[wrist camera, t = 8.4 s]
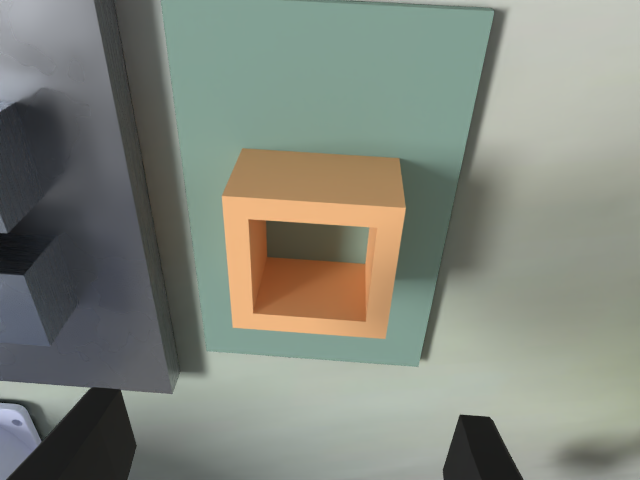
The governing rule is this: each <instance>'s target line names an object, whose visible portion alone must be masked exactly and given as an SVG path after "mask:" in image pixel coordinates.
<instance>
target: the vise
mask: <svg viewBox="0 0 640 480" xmlns="http://www.w3.org/2000/svg"><path fill="white" fill-rule="evenodd" d="M179 374H180V369H179V363H178V358H177V352H176V347H175V341H174V336H173V330H172V324H171V319H170V313H169V308H168V302H167V297H166V291H165V285H164V280H163V274H162V269H161V263H160V258H159V252H158V246H157V241H156V235H155V230H154V224H153V218H152V213H151V207H150V202H149V196H148V191H147V185H146V179H145V174H144V168H143V163H142V157H141V152H140V146H139V140H138V135H137V129H136V124H135V118H134V113H133V107H132V101H131V96H130V90H129V85H128V79H127V73H126V68H125V62H124V57H123V51H122V46H121V40H120V34H119V29H118V23H117V18H116V12H115V7H114V1H113V0H0V381H12V382H25V383H38V384H51V385H64V386H77V387H90V388H92V387H98V388H112V389H121V390H128V391H141V392H154V393H167V394H172V393H173V391H174V388H175V385H176V382H177V380H178V377H179Z"/></svg>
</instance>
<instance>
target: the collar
mask: <svg viewBox="0 0 640 480" xmlns="http://www.w3.org/2000/svg"><path fill="white" fill-rule="evenodd" d="M222 206H223V218H224V229H225V241H226V253H227V265H228V277H229V289H230V301H231V313H232V325H233V328H243V329H257V330H270V331H284V332H297V333H311V334H324V335H338V336H351V337H365V338H379V339H386V333H387V326H388V320H389V313H390V307H391V300H392V294H393V288H394V281H395V275H396V268H397V262H398V255H399V249H400V242H401V236H402V229H403V223H404V217H405V210H406V206H405V198H404V190H403V183H402V175H401V167H400V160H399V158H390V157H374V156H358V155H341V154H325V153H309V152H293V151H277V150H261V149H245V148H242V150H241V152H240V155H239V157H238V159H237V162H236V164H235V166H234V169H233V171H232V173H231V176H230V178H229V180H228V183H227V185H226V187H225V189H224V192H223V194H222ZM266 220H268V221H283V222H298V223H313V224H328V225H343V226H358V227H369V235H368V244H367V253H366V262H365V264H360V263H346V262H331V261H317V260H302V259H288V258H273V257H267V236H266Z"/></svg>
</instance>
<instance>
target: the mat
mask: <svg viewBox="0 0 640 480" xmlns="http://www.w3.org/2000/svg"><path fill="white" fill-rule="evenodd" d="M161 6H162V14H163V22H164V29H165V37H166V44H167V52H168V60H169V67H170V75H171V83H172V90H173V98H174V106H175V113H176V121H177V129H178V136H179V144H180V152H181V159H182V167H183V175H184V182H185V190H186V197H187V205H188V213H189V220H190V228H191V236H192V243H193V251H194V259H195V266H196V274H197V282H198V289H199V297H200V305H201V312H202V320H203V328H204V335H205V343H206V350H207V351H213V352H226V353H239V354H253V355H266V356H280V357H293V358H307V359H320V360H333V361H347V362H360V363H374V364H387V365H401V366H414V367H418V366H419V361H420V357H421V352H422V347H423V343H424V338H425V333H426V329H427V324H428V319H429V315H430V310H431V305H432V301H433V296H434V291H435V287H436V282H437V277H438V273H439V268H440V263H441V259H442V254H443V249H444V245H445V240H446V235H447V231H448V226H449V221H450V217H451V212H452V207H453V203H454V198H455V193H456V189H457V184H458V179H459V175H460V170H461V165H462V161H463V156H464V151H465V146H466V142H467V137H468V132H469V128H470V123H471V118H472V114H473V109H474V104H475V100H476V95H477V90H478V86H479V81H480V76H481V72H482V67H483V62H484V58H485V53H486V48H487V44H488V39H489V34H490V30H491V25H492V20H493V16H494V10H493V9H492V8H480V7H461V6H442V5H422V4H403V3H383V2H364V1H345V0H161ZM242 148H245V149H261V150H277V151H293V152H309V153H325V154H341V155H358V156H374V157H390V158H399V160H400V167H401V175H402V183H403V190H404V198H405V206H406V210H405V217H404V223H403V229H402V236H401V242H400V249H399V255H398V262H397V268H396V275H395V281H394V288H393V294H392V300H391V307H390V313H389V320H388V326H387V333H386V339H379V338H365V337H351V336H338V335H324V334H311V333H297V332H284V331H270V330H257V329H243V328H233V325H232V313H231V301H230V289H229V277H228V265H227V253H226V241H225V229H224V218H223V206H222V194H223V192H224V189H225V187H226V185H227V183H228V180H229V178H230V176H231V173H232V171H233V169H234V166H235V164H236V162H237V159H238V157H239V155H240V152H241V150H242ZM368 235H369V227H358V226H343V225H328V224H313V223H298V222H283V221H268V220H266V236H267V257H273V258H288V259H302V260H317V261H331V262H346V263H360V264H365V262H366V253H367V244H368Z"/></svg>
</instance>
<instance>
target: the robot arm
mask: <svg viewBox="0 0 640 480" xmlns="http://www.w3.org/2000/svg"><path fill="white" fill-rule="evenodd" d="M136 446H137V445H136V442H135V438H134V435H133V431H132V428H131V424H130V421H129V417H128V414H127V410H126V407H125V403H124V400H123V396H122V393H121V389H112V388H98V387H92V388H91V389H89V390H88V391H87V392H86V394H85V395H84V396H83V397H82V398H81V399H80V400H79V401H78V402H77V404H76V405H75V406H74V407H73V408H72V409H71V410H70V411H69V413H68V414H67V415H66V416H65V417H64V418H63V419H62V420H61V421H60V423H59V424H58V425H57V426H56V427H55V428H54V429H53V430H52V431H51V432H50V433H49V435H48V436H47V437H46V438H45V439H44V440H43V441H41V439H40V437H39V435H38V433H37V431H36V428H35V426H34V424H33V422H32V420H31V418H30V415H29V413H28V411H27V410H26V408H24V407H23V406H21V405H18V404H9V403H0V480H127V478H128V475H129V472H130V468H131V464H132V461H133V457H134V454H135V450H136ZM443 478H444V480H523V478H522V476H521V474H520V472H519V471H518V469H517V467H516V465H515V463H514V461H513V459H512V457H511V456H510V454H509V452H508V450H507V448H506V446H505V444H504V442H503V440H502V438H501V436H500V434H499V432H498V430H497V428H496V426H495V424H494V422H493V420H492V419H491V418H490V417H485V416H471V415H460V416H459V419H458V422H457V425H456V429H455V432H454V435H453V439H452V442H451V445H450V448H449V452H448V455H447V458H446V462H445V465H444V468H443Z"/></svg>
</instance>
